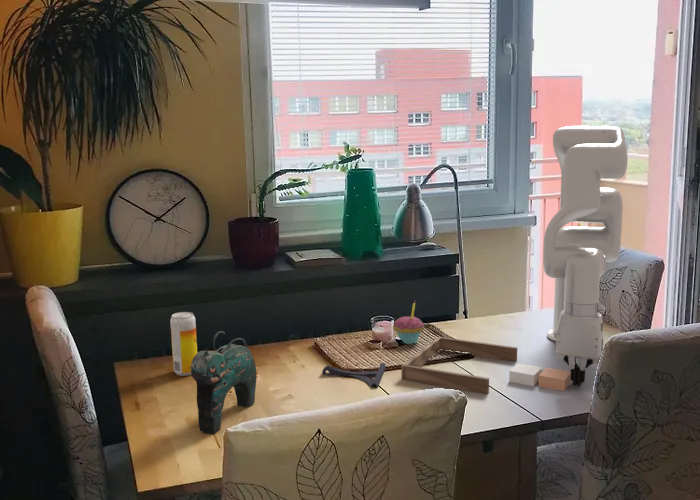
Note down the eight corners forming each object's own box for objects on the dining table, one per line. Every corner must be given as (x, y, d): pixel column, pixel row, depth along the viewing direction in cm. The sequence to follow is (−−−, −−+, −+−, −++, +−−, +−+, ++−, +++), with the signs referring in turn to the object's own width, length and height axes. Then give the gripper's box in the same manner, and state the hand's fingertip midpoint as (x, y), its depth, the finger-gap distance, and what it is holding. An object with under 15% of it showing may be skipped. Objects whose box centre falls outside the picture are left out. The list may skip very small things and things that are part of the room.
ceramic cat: (213, 439, 152) (208, 344, 148) (186, 433, 154) (180, 340, 151) (262, 402, 170) (259, 317, 166) (238, 398, 172) (234, 314, 168)
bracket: (329, 366, 194) (328, 356, 193) (386, 369, 191) (386, 358, 191) (316, 387, 180) (316, 376, 180) (377, 390, 177) (377, 379, 177)
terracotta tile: (546, 379, 182) (546, 367, 181) (571, 383, 179) (571, 371, 178) (538, 387, 177) (539, 375, 176) (564, 392, 174) (564, 379, 173)
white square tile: (517, 374, 185) (518, 363, 184) (541, 379, 182) (542, 367, 181) (509, 382, 180) (509, 370, 179) (533, 387, 177) (533, 375, 176)
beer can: (203, 369, 191) (199, 312, 188) (188, 378, 186) (184, 319, 183) (183, 366, 194) (180, 310, 191) (168, 374, 188) (164, 316, 185)
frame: (438, 348, 204) (438, 336, 203) (517, 360, 194) (517, 347, 193) (401, 379, 182) (401, 365, 182) (487, 394, 172) (487, 379, 172)
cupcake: (428, 339, 212) (429, 298, 210) (414, 348, 205) (415, 305, 203) (402, 335, 217) (402, 294, 214) (387, 343, 210) (387, 301, 207)
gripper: (617, 307, 171) (613, 384, 175) (551, 300, 178) (548, 374, 182) (612, 316, 165) (608, 395, 169) (544, 308, 172) (541, 384, 175)
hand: (577, 384), depth 175 cm, fingers closed
